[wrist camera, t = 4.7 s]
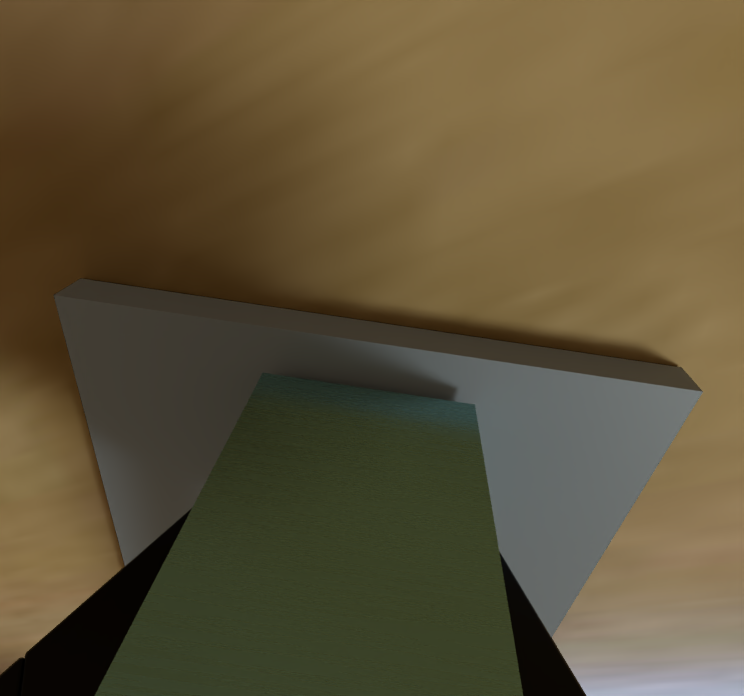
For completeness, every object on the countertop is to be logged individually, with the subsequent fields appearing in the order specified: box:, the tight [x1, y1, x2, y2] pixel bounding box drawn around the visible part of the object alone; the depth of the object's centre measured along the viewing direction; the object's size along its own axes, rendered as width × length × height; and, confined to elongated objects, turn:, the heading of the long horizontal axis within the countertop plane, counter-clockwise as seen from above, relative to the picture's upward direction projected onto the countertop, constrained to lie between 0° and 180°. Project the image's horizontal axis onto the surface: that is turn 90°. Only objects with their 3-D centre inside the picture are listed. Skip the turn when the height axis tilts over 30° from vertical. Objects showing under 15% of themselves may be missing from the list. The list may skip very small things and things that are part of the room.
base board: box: [54, 279, 703, 638], centre depth 15 cm, size 24×12×1 cm, turn 173°
